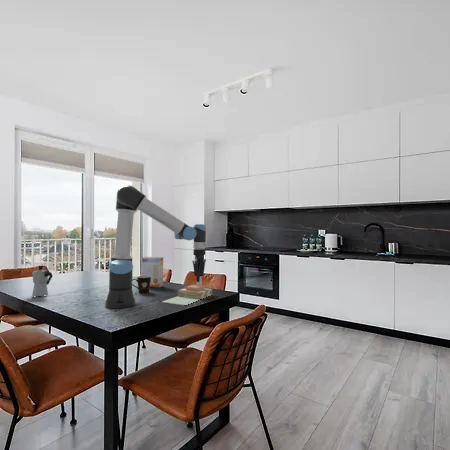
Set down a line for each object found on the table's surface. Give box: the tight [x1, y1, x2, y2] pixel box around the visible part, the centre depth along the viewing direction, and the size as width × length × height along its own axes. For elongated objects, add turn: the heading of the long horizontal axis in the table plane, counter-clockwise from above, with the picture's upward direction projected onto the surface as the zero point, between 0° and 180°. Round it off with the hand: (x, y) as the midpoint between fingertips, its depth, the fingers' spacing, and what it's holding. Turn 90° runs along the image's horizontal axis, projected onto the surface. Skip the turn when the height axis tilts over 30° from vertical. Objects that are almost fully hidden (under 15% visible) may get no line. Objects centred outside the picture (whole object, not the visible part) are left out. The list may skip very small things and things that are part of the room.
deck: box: [177, 287, 213, 300], centre depth 183 cm, size 14×16×4 cm
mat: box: [161, 295, 201, 306], centre depth 170 cm, size 15×16×1 cm
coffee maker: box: [31, 265, 53, 297], centre depth 179 cm, size 15×9×18 cm, turn 73°
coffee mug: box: [132, 275, 151, 294], centre depth 193 cm, size 12×9×10 cm
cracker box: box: [141, 256, 164, 289], centre depth 213 cm, size 14×6×21 cm, turn 74°
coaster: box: [185, 284, 205, 291], centre depth 183 cm, size 8×8×2 cm
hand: (198, 286), depth 187 cm, fingers closed
